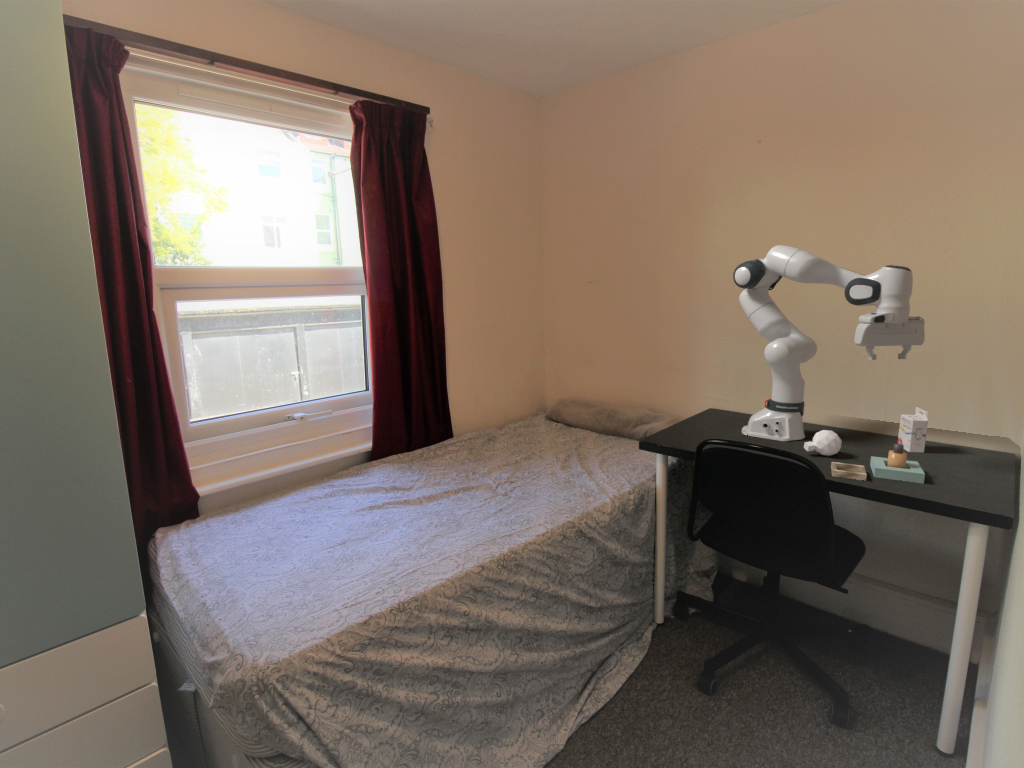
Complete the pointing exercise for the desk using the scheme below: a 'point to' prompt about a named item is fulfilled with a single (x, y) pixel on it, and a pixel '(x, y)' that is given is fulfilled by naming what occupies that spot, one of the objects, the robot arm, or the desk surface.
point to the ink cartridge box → (913, 431)
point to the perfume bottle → (824, 443)
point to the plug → (897, 457)
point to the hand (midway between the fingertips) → (886, 359)
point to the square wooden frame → (848, 471)
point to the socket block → (897, 470)
